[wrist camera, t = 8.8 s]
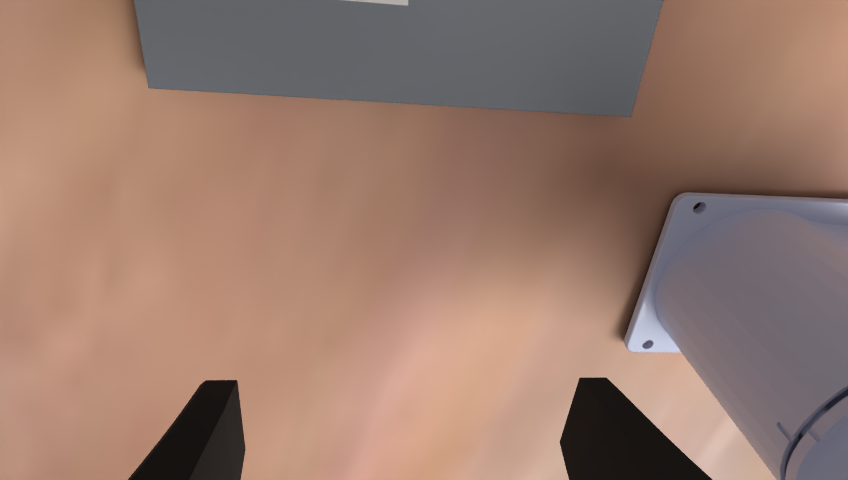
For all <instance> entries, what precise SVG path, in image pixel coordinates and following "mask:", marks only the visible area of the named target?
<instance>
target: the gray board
mask: <svg viewBox="0 0 848 480" xmlns="http://www.w3.org/2000/svg"><path fill="white" fill-rule="evenodd" d="M662 3H663V0H134V5H135V11H136V17H137V23H138V28H139V34H140V40H141V46H142V52H143V58H144V64H145V70H146V76H147V82H148V88H153V89H170V90H187V91H203V92H220V93H237V94H254V95H270V96H287V97H304V98H321V99H337V100H354V101H371V102H388V103H404V104H421V105H438V106H455V107H471V108H488V109H505V110H522V111H538V112H555V113H572V114H588V115H605V116H622V117H631V114H632V110H633V106H634V103H635V99H636V96H637V92H638V89H639V85H640V81H641V78H642V74H643V71H644V67H645V64H646V60H647V57H648V53H649V49H650V46H651V42H652V39H653V35H654V32H655V28H656V25H657V21H658V17H659V14H660V10H661V7H662Z"/></svg>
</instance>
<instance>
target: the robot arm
mask: <svg viewBox="0 0 848 480" xmlns="http://www.w3.org/2000/svg"><path fill="white" fill-rule="evenodd" d="M699 202H701V204H700V205H699V207H698V208H696V209H693V207H694V206H695V205H696V204H697V203H699ZM645 341H647V342H646V343H644V342H645ZM624 344H625V346H626V348H627V349H628V350H629V351H630V352H682V354H683V355H684V356H685V358H686V359H687V360H688V362H689V363H690V364H691V366H692V367H693V368H694V370H695V371H696V372H697V374H698V375H699V376H700V378H701V379H702V380H703V382H704V383H705V384H706V386H707V387H708V388H709V390H710V391H711V392H712V394H713V395H714V396H715V398H716V399H717V400H718V402H719V403H720V404H721V406H722V407H723V408H724V410H725V411H726V412H727V414H728V415H729V416H730V418H731V419H732V420H733V422H734V423H735V424H736V426H737V427H738V428H739V430H740V431H741V432H742V434H743V435H744V436H745V438H746V439H747V440H748V442H749V443H750V445H751V446H752V447H753V449H754V450H755V451H756V453H757V454H758V455H759V457H760V458H761V459H762V461H763V462H764V463H765V465H766V466H767V467H768V469H769V470H770V471H771V473H772V474H773V475H774V477H775V478H776V479H777V480H848V199H834V198H811V197H787V196H763V195H739V194H715V193H692V192H686V193H682V194H680V195H678V196H677V197H676V198H674V200H673V202H672V204H671V206H670V209H669V212H668V215H667V218H666V221H665V224H664V227H663V229H662V232H661V235H660V238H659V241H658V244H657V247H656V250H655V252H654V255H653V258H652V261H651V264H650V267H649V270H648V273H647V275H646V278H645V281H644V284H643V287H642V290H641V293H640V296H639V298H638V301H637V304H636V307H635V310H634V313H633V316H632V319H631V321H630V324H629V327H628V330H627V333H626V336H625V339H624ZM560 445H561V449H562V453H563V457H564V461H565V466H566V469H567V473H568V477H569V480H712V479H711V478H710V477H709V476H708V475H707V474H706V473H704V472H703V471H702V470H701V469H700V468H699V467H698V466H697V465H696V464H695V463H693V462H692V461H691V460H690V459H689V458H688V457H687V456H686V455H685V454H684V453H683V452H682V451H681V450H680V449H679V448H678V447H677V446H675V445H674V444H673V443H672V442H671V441H670V440H669V439H668V438H667V437H666V436H665V435H664V434H663V433H662V432H661V431H660V430H659V429H658V428H657V427H656V426H655V425H654V424H653V423H652V422H651V421H650V420H649V419H648V418H647V417H646V416H645V415H644V414H643V413H642V412H641V411H640V410H639V409H638V408H637V407H636V406H635V405H634V404H633V403H632V402H631V401H630V400H629V399H628V398H627V397H626V396H625V395H624V394H623V393H622V392H621V391H620V390H619V389H618V388H617V387H616V386H615V385H614V384H612V383H611V382H610V381H609V380H608V379H607V378H579V382H578V385H577V388H576V391H575V395H574V398H573V401H572V404H571V407H570V411H569V414H568V417H567V420H566V424H565V427H564V430H563V433H562V437H561V440H560ZM244 454H245V442H244V434H243V425H242V417H241V408H240V400H239V391H238V383H237V380H206V381H204V382H203V383H202V384H201V385H200V386H199V388H198V389H197V390H196V392H195V393H194V395H193V396H192V398H191V399H190V400H189V402H188V403H187V405H186V406H185V407H184V409H183V410H182V412H181V413H180V414H179V416H178V417H177V418H176V420H175V421H174V422H173V424H172V425H171V426H170V428H169V429H168V430H167V432H166V433H165V434H164V436H163V437H162V438H161V439H160V441H159V442H158V443H157V444H156V446H155V447H154V448H153V449H152V451H151V452H150V453H149V454H148V456H147V457H146V458H145V459H144V461H143V462H142V463H141V464H140V466H139V467H138V468H137V469H136V471H135V472H134V473H133V474H132V475H131V477H130V478H129V479H128V480H240V479H241V473H242V467H243V461H244Z"/></svg>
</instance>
